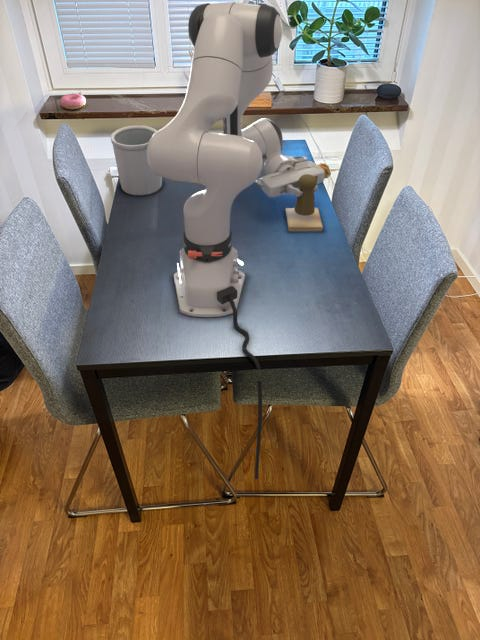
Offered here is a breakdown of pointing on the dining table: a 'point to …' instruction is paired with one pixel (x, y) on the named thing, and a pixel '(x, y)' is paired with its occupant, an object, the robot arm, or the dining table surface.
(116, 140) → the utensil holder
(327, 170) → the pastry
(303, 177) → the olive brown pawn
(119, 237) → the dining table surface
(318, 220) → the serving board
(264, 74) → the robot arm
